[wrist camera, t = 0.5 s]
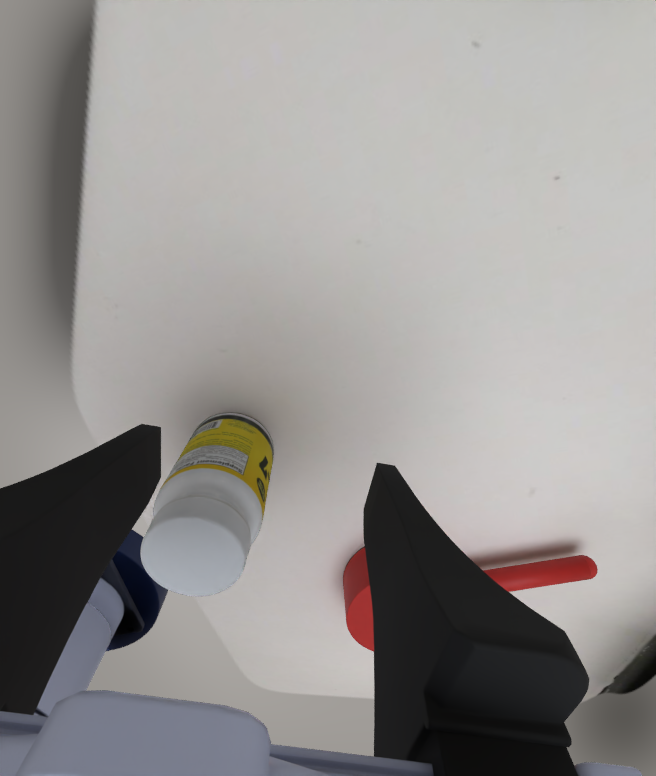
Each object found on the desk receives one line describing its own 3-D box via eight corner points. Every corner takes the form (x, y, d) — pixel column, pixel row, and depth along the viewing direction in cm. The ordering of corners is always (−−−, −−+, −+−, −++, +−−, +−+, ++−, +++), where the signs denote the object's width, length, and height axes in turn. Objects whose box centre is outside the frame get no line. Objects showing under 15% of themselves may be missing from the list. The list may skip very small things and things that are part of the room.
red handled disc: (351, 620, 28) (355, 662, 26) (335, 546, 26) (337, 584, 23) (577, 585, 28) (606, 625, 25) (583, 506, 25) (617, 540, 22)
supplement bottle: (265, 488, 24) (242, 614, 16) (187, 472, 23) (123, 595, 15) (283, 420, 22) (266, 523, 14) (199, 401, 22) (133, 497, 14)
